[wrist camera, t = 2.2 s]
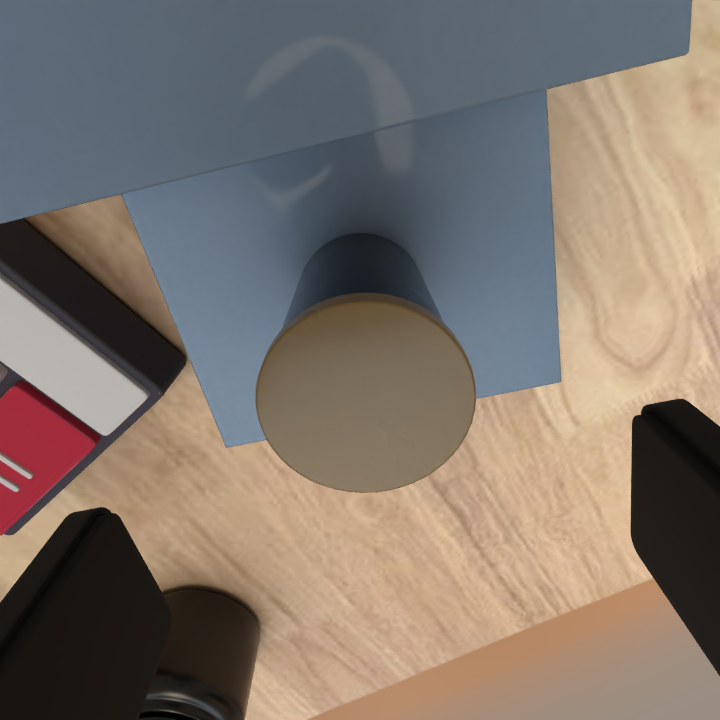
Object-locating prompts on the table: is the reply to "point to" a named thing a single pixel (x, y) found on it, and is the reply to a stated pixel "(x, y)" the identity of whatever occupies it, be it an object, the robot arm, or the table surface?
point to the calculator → (64, 372)
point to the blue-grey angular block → (316, 153)
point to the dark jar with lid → (364, 372)
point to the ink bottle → (204, 660)
